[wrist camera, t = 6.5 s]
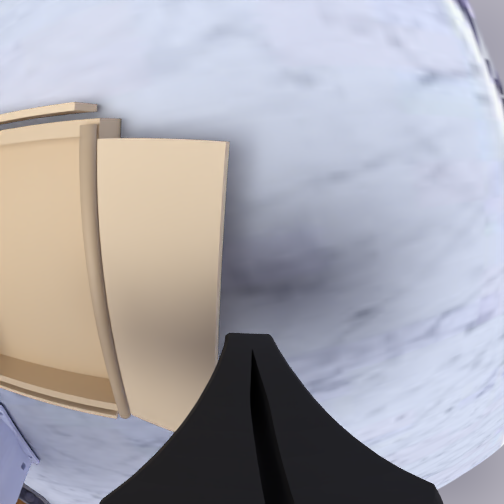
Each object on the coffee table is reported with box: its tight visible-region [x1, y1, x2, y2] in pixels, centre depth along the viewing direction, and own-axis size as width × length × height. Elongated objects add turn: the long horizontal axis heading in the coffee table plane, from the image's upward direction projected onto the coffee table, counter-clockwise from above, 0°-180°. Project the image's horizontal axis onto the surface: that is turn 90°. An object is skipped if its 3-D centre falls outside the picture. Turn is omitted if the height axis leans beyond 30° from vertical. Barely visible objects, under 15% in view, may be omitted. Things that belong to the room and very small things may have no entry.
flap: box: [97, 138, 230, 432], centre depth 11 cm, size 13×1×4 cm
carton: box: [0, 102, 131, 419], centre depth 12 cm, size 15×13×3 cm
